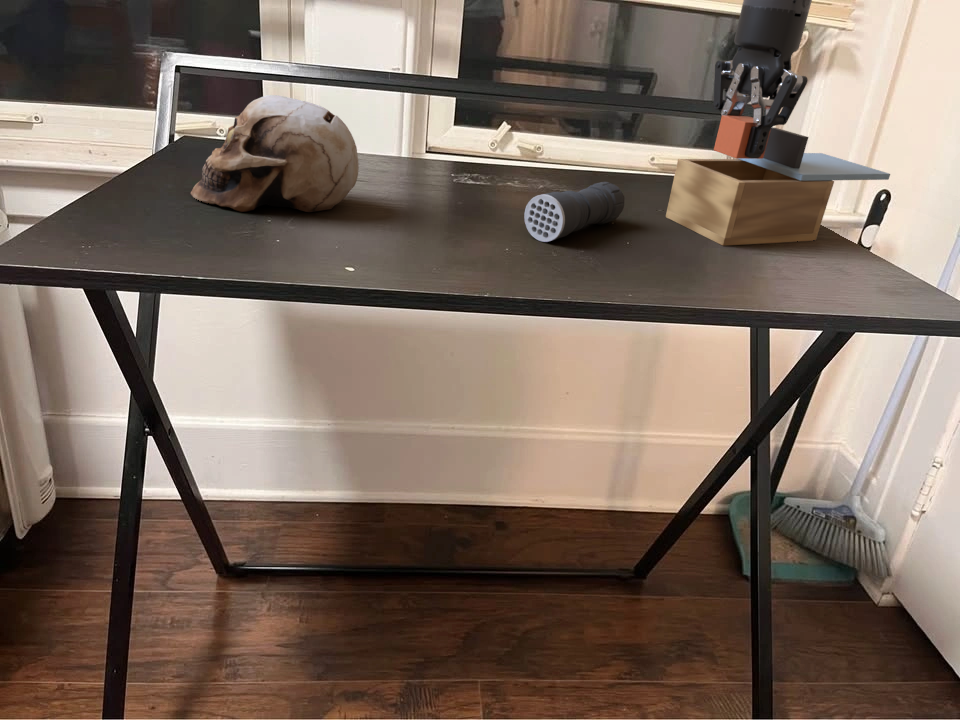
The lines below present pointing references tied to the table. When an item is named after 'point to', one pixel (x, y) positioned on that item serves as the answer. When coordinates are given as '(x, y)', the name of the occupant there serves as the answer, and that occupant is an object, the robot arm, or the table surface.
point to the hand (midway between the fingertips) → (738, 152)
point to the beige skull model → (281, 159)
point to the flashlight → (572, 210)
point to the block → (734, 136)
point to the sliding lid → (809, 161)
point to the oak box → (745, 202)
